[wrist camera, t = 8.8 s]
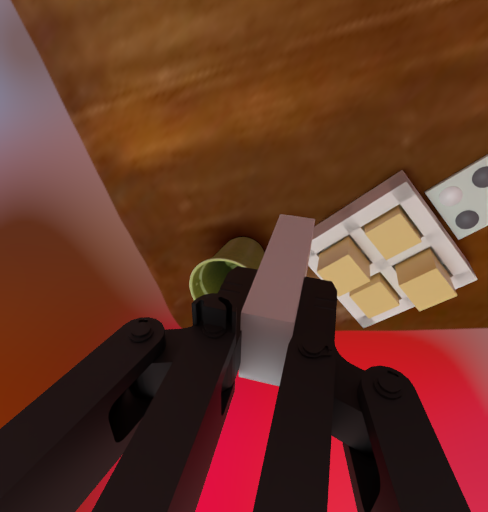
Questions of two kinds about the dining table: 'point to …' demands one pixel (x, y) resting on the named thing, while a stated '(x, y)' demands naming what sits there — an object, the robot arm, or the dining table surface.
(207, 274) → the plant pot
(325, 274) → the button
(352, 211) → the board
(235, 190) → the dining table surface
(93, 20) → the dining table surface
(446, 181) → the pattern card
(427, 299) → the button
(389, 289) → the tan cube block
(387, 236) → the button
